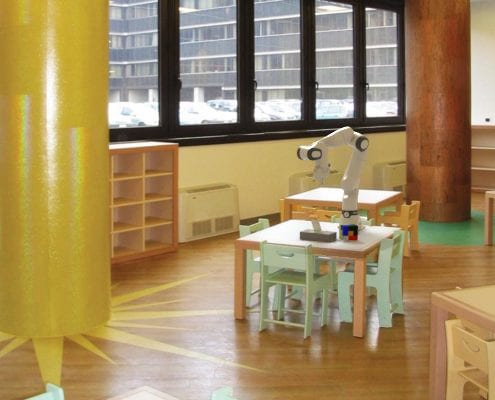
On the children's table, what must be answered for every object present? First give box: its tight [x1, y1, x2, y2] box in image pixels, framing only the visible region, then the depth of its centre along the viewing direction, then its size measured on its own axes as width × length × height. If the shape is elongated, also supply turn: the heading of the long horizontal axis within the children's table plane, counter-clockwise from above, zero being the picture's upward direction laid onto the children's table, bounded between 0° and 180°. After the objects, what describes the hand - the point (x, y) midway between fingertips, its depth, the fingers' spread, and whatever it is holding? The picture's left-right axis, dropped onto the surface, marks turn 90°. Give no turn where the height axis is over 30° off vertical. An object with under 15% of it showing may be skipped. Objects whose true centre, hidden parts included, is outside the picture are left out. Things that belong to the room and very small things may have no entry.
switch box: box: [299, 228, 338, 243], centre depth 567 cm, size 12×22×5 cm, turn 59°
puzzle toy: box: [338, 223, 359, 242], centre depth 566 cm, size 10×10×10 cm
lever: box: [308, 213, 322, 232], centre depth 563 cm, size 3×6×13 cm
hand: (321, 184), depth 582 cm, fingers closed
